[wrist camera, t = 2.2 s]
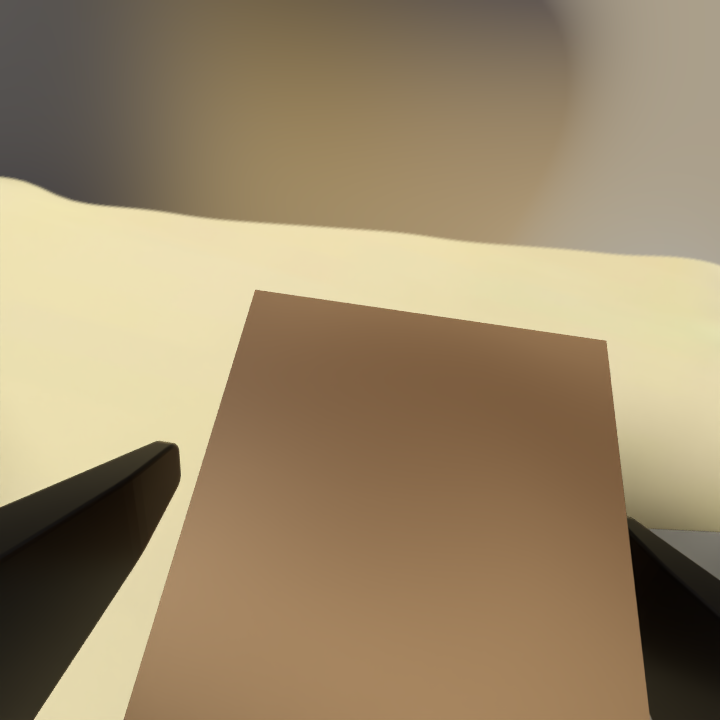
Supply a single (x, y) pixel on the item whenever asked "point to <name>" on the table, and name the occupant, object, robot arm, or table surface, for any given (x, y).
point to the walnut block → (401, 530)
